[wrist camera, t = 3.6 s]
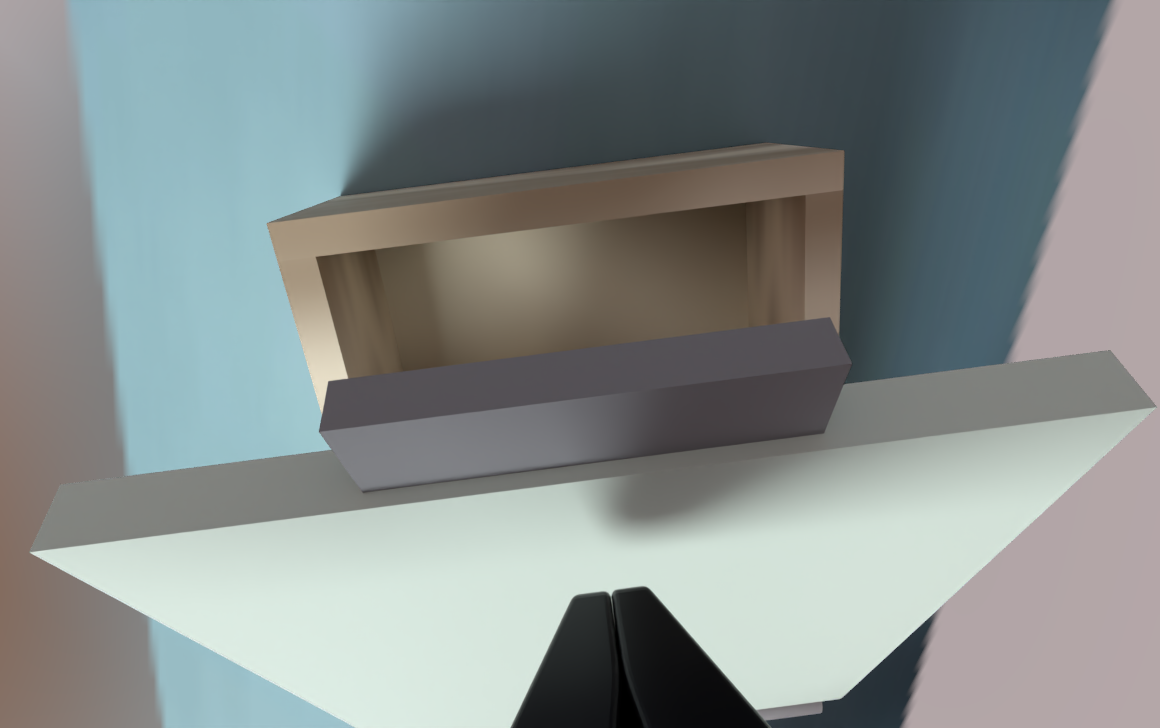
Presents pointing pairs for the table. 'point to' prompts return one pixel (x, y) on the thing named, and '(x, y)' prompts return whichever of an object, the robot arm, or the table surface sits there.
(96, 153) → the table surface
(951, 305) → the table surface
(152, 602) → the lid
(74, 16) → the table surface
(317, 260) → the box
